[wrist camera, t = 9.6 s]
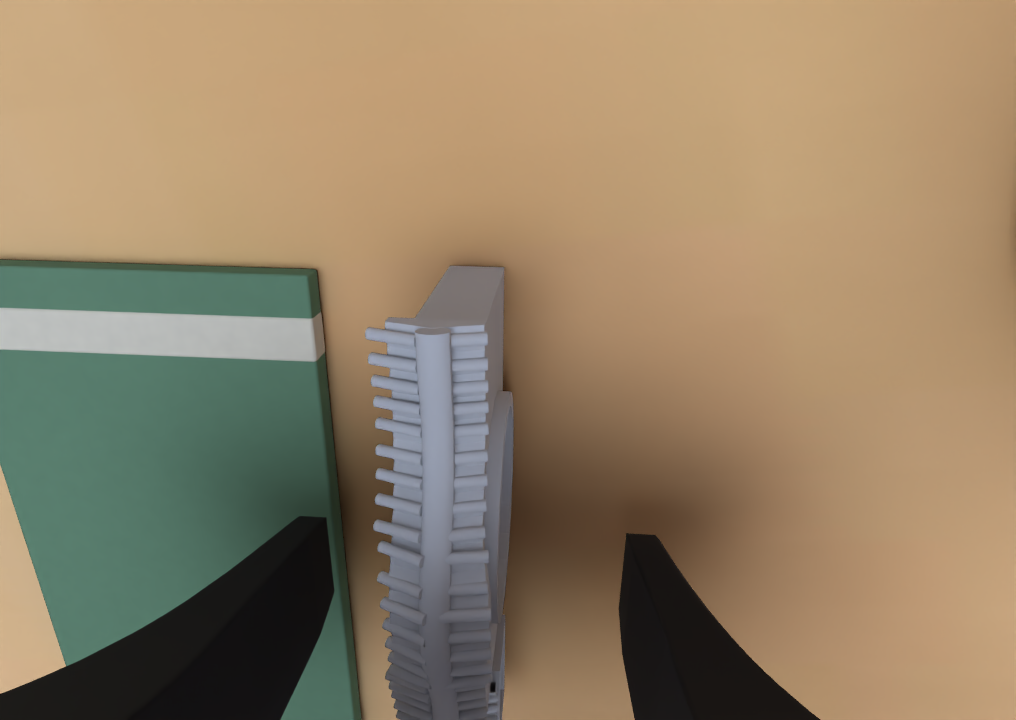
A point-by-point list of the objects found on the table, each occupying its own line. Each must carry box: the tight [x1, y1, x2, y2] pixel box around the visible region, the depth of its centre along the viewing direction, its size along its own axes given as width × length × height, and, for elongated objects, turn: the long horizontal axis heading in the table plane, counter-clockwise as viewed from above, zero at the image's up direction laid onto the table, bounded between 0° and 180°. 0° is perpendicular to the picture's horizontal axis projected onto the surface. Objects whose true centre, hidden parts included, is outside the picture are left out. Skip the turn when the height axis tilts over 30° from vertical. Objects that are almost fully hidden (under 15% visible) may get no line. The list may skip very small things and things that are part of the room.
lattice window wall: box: [365, 266, 514, 720], centre depth 12 cm, size 12×2×6 cm, turn 179°
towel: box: [0, 260, 361, 720], centre depth 17 cm, size 8×18×1 cm, turn 179°
